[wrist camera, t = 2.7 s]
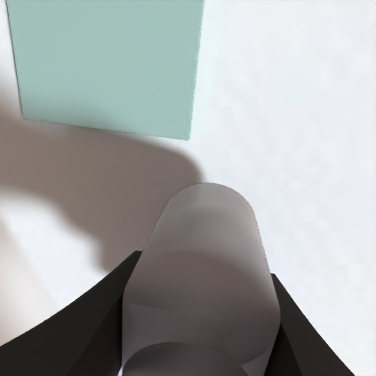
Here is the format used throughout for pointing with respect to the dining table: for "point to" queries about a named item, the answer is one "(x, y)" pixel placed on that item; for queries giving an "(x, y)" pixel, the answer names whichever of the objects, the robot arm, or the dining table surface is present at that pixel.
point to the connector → (201, 291)
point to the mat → (108, 63)
